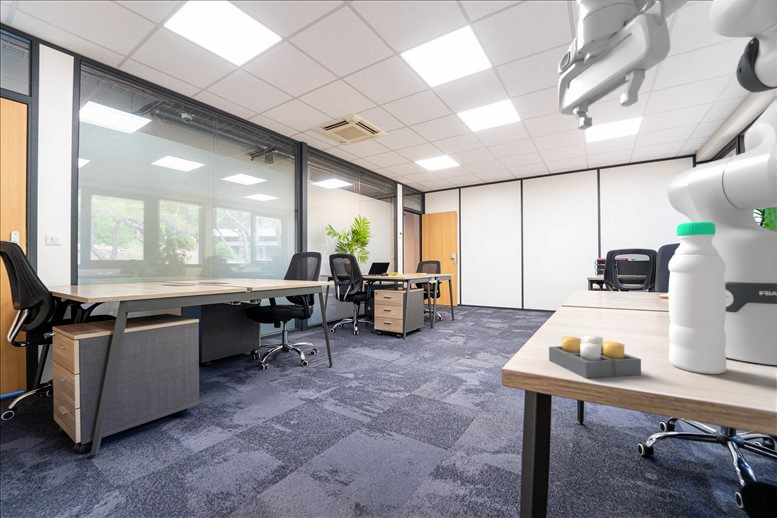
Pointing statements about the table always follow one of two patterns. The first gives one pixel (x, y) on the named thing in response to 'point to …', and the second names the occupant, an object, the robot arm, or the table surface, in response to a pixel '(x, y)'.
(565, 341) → the button
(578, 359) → the grey egg tray
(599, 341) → the button
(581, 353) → the button
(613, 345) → the button
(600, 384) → the table surface
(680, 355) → the water bottle
